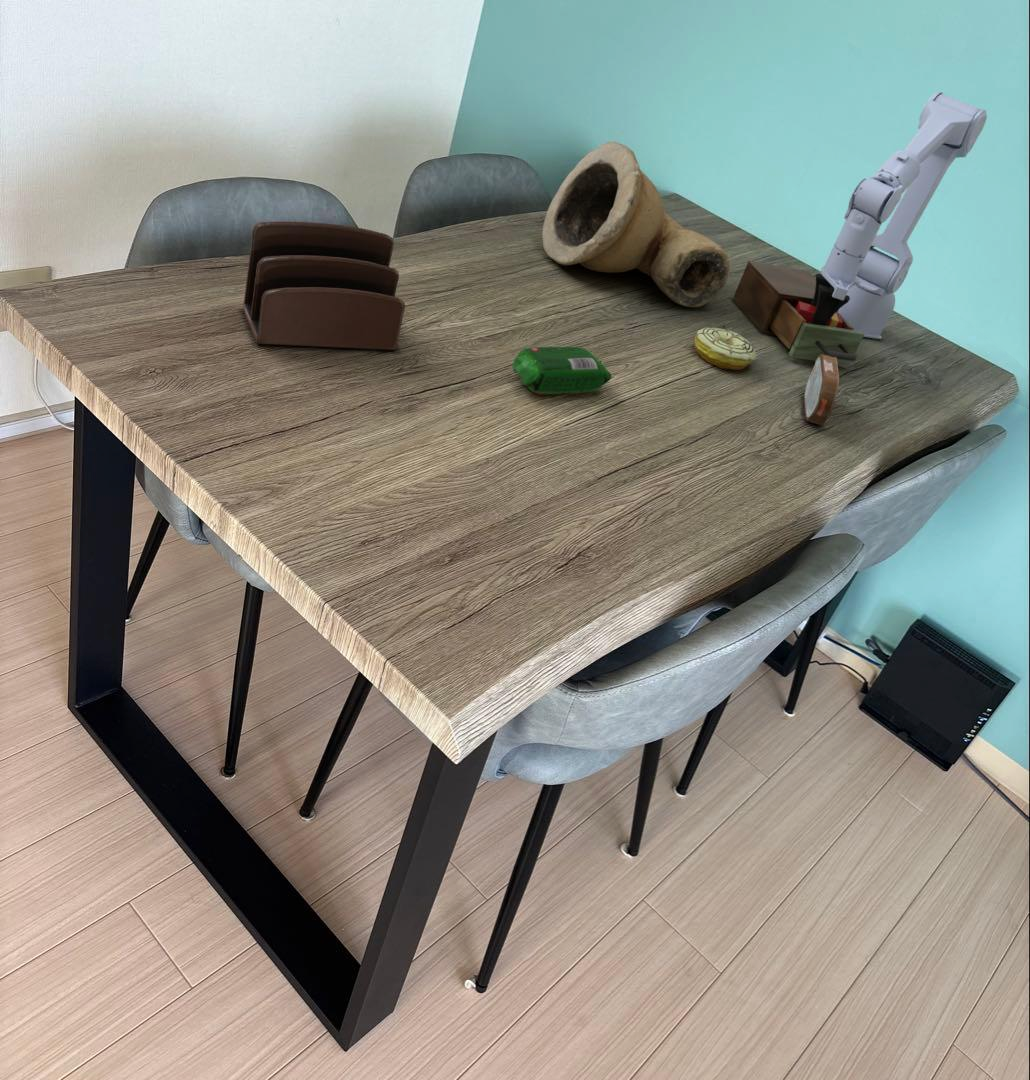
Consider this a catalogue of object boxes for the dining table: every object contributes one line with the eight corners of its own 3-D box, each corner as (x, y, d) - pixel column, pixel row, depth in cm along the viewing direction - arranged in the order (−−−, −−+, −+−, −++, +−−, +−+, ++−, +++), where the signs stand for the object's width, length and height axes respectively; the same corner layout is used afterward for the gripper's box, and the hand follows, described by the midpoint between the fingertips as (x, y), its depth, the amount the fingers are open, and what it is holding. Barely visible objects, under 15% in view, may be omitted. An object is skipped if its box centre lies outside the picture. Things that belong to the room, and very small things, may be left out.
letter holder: (242, 309, 143) (253, 213, 135) (377, 318, 152) (395, 228, 143) (256, 345, 136) (268, 246, 128) (396, 352, 145) (416, 259, 137)
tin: (821, 435, 160) (844, 389, 155) (802, 428, 160) (825, 382, 156) (817, 394, 173) (839, 350, 168) (799, 388, 173) (820, 344, 168)
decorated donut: (762, 369, 175) (771, 349, 173) (724, 377, 168) (733, 357, 166) (717, 339, 180) (725, 320, 178) (679, 346, 173) (687, 326, 171)
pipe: (697, 353, 195) (596, 303, 175) (615, 282, 213) (515, 229, 192) (773, 247, 187) (676, 182, 166) (681, 182, 205) (583, 116, 184)
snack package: (613, 398, 152) (624, 367, 149) (523, 399, 144) (533, 367, 141) (589, 373, 156) (600, 343, 153) (501, 373, 148) (510, 341, 145)
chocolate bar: (832, 331, 187) (840, 314, 185) (834, 339, 183) (842, 322, 181) (790, 317, 186) (798, 300, 184) (792, 326, 183) (800, 308, 181)
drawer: (861, 379, 181) (878, 347, 177) (803, 371, 177) (819, 339, 173) (816, 332, 194) (831, 301, 190) (761, 323, 189) (775, 292, 186)
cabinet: (822, 342, 193) (841, 303, 188) (761, 333, 188) (779, 293, 183) (791, 308, 203) (808, 271, 198) (732, 299, 198) (748, 260, 193)
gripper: (877, 271, 170) (841, 344, 178) (866, 244, 182) (833, 313, 190) (837, 258, 170) (802, 331, 178) (829, 232, 182) (797, 301, 190)
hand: (816, 321), depth 184 cm, fingers closed on chocolate bar, 4 cm apart
